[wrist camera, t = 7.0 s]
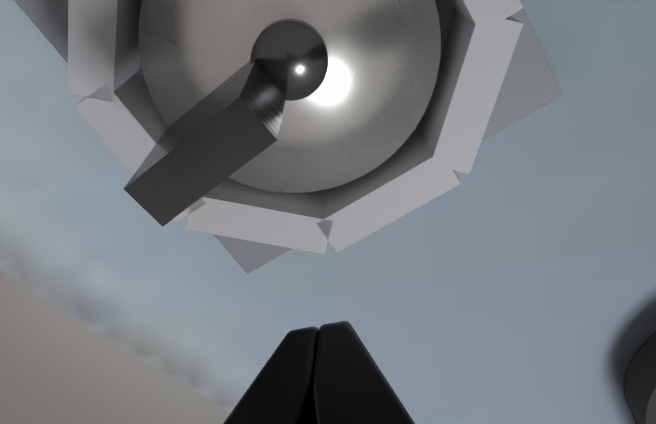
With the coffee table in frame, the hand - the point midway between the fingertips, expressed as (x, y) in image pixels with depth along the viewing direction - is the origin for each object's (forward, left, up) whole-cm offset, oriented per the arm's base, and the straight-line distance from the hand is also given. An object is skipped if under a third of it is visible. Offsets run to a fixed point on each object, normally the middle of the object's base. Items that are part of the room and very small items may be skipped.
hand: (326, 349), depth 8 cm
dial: (+2, 0, -11) cm, 12 cm away
